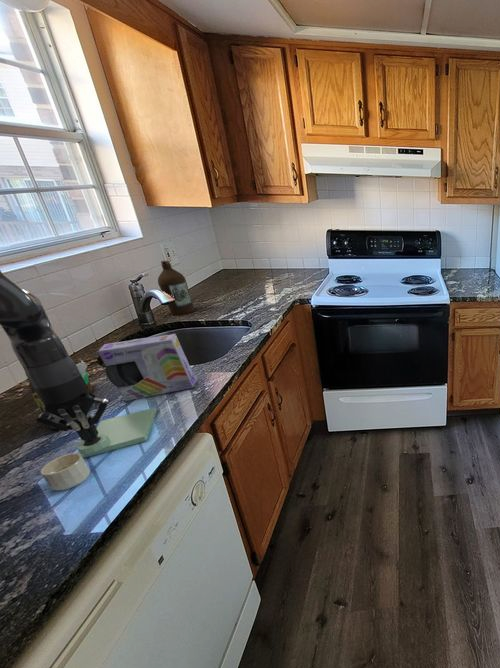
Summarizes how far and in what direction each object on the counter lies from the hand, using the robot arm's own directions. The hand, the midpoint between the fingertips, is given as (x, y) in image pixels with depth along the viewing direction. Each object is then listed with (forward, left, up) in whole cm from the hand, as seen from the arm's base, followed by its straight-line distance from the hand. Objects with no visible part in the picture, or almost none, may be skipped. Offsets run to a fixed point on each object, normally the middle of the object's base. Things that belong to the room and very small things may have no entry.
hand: (91, 439), depth 88 cm
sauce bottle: (-11, +19, -4) cm, 22 cm away
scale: (+4, +6, -4) cm, 8 cm away
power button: (0, 0, -2) cm, 2 cm away
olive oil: (+6, +107, -4) cm, 107 cm away
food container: (-13, +34, -4) cm, 36 cm away
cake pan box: (+9, +25, -4) cm, 26 cm away
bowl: (-2, -9, -4) cm, 10 cm away
